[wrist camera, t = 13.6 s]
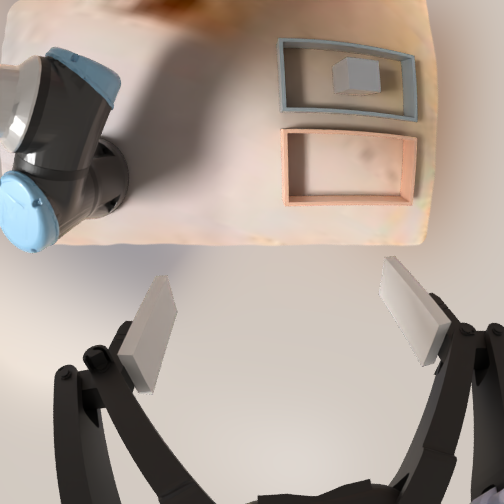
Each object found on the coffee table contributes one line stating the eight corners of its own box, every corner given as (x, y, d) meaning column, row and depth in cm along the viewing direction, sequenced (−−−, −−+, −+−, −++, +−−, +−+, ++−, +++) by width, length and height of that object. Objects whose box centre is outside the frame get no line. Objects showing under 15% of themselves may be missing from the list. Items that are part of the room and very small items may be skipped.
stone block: (334, 93, 41) (349, 88, 33) (331, 66, 38) (346, 56, 31) (361, 95, 40) (380, 92, 33) (359, 68, 38) (378, 61, 31)
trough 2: (282, 199, 49) (284, 206, 45) (280, 128, 43) (283, 129, 40) (402, 199, 48) (412, 205, 45) (406, 135, 43) (417, 137, 39)
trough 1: (279, 112, 42) (282, 111, 39) (276, 44, 37) (278, 38, 33) (406, 121, 42) (417, 121, 38) (403, 59, 37) (414, 55, 33)
